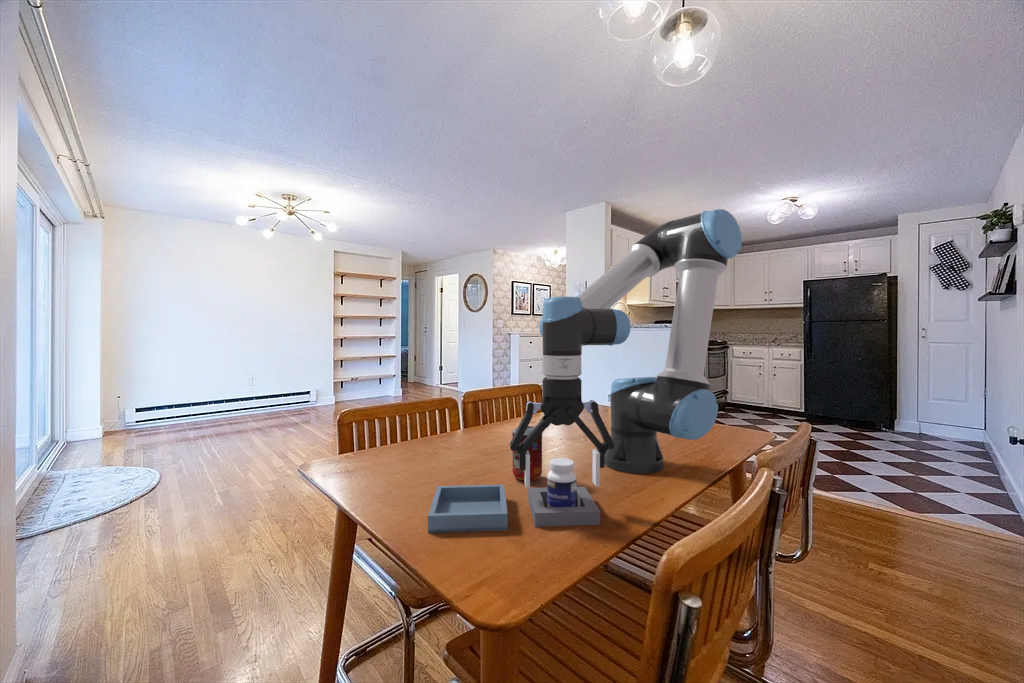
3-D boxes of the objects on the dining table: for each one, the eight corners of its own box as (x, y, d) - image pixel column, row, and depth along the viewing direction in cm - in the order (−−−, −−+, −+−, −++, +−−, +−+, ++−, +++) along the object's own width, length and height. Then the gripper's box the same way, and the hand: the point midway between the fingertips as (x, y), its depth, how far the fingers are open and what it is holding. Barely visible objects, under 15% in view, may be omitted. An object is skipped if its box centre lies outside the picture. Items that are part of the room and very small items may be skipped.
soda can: (506, 481, 98) (507, 429, 98) (521, 472, 104) (521, 423, 104) (533, 487, 95) (534, 433, 94) (546, 477, 101) (547, 426, 101)
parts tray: (504, 498, 88) (504, 484, 88) (507, 530, 74) (507, 513, 74) (437, 500, 87) (437, 486, 87) (428, 532, 73) (427, 516, 73)
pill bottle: (542, 514, 81) (542, 463, 80) (553, 503, 86) (553, 455, 86) (570, 520, 78) (570, 467, 78) (580, 508, 83) (580, 459, 83)
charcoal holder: (584, 498, 88) (584, 486, 88) (600, 524, 76) (600, 511, 76) (528, 499, 88) (528, 488, 87) (534, 526, 76) (534, 513, 76)
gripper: (498, 379, 77) (498, 494, 77) (631, 378, 78) (630, 490, 79) (497, 375, 84) (497, 479, 85) (618, 374, 86) (618, 476, 86)
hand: (561, 485), depth 82 cm, fingers open, 13 cm apart
